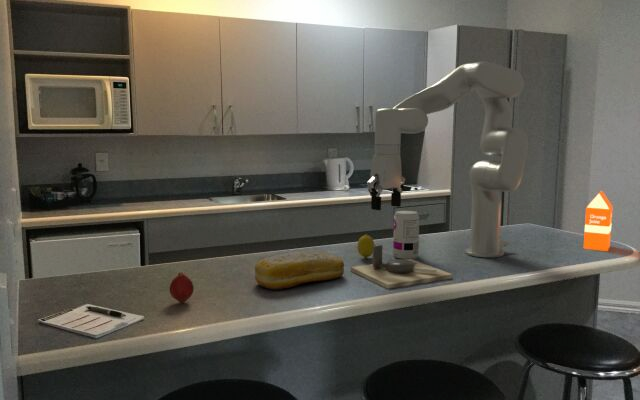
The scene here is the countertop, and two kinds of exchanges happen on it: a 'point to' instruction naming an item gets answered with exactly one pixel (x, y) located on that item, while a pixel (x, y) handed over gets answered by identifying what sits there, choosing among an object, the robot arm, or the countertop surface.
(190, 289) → the onion
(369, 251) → the lemon
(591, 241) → the orange juice
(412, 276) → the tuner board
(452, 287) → the countertop surface
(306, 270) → the bread
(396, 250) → the supplement can
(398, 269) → the dark grey handled piece
